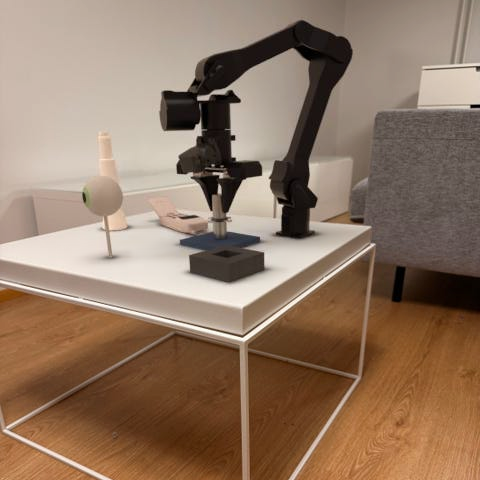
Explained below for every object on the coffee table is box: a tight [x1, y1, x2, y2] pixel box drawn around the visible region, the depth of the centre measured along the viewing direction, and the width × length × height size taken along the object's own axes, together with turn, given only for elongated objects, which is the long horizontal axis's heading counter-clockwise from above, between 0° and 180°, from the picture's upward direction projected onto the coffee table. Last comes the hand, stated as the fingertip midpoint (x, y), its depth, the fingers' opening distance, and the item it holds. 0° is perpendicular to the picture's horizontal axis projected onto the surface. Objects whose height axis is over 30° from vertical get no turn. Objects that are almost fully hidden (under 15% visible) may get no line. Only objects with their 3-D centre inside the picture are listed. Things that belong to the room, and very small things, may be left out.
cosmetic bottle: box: [97, 131, 128, 231], centre depth 111 cm, size 6×6×22 cm
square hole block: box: [188, 245, 265, 283], centre depth 79 cm, size 9×9×3 cm
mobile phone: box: [146, 196, 209, 236], centre depth 114 cm, size 6×6×25 cm
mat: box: [179, 230, 261, 251], centre depth 98 cm, size 12×12×1 cm
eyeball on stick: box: [81, 175, 124, 259], centre depth 86 cm, size 7×7×15 cm
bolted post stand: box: [207, 192, 233, 240], centre depth 96 cm, size 6×6×9 cm
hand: (219, 211), depth 96 cm, fingers open, 3 cm apart
